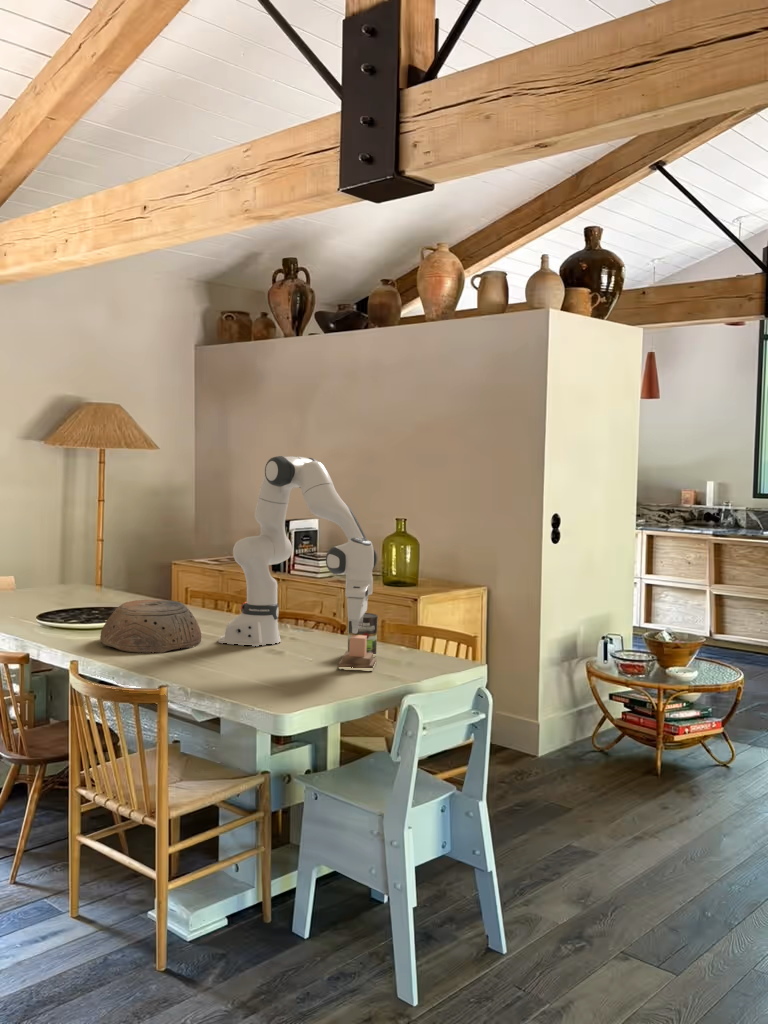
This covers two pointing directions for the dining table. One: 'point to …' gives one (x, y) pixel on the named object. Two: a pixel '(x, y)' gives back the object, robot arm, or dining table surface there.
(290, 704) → the dining table surface
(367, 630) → the coffee can
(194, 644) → the ceramic artifact
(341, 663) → the plinth
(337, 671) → the dining table surface
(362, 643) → the block
